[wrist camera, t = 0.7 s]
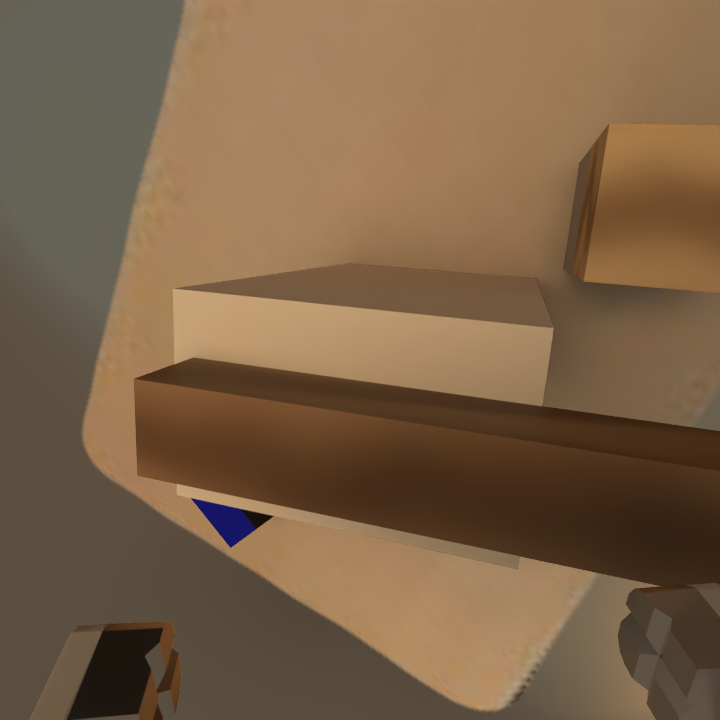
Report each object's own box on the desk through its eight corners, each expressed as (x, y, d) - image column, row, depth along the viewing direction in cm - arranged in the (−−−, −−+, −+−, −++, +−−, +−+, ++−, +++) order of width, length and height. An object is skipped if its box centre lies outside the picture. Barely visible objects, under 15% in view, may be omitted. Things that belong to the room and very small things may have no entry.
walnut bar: (193, 357, 24) (133, 378, 21) (822, 445, 18) (900, 499, 14) (194, 440, 25) (137, 475, 22) (792, 551, 19) (858, 627, 15)
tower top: (591, 147, 34) (609, 123, 27) (733, 150, 32) (792, 126, 25) (571, 273, 36) (583, 281, 29) (704, 284, 34) (752, 295, 27)
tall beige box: (348, 263, 48) (173, 288, 24) (536, 278, 44) (553, 328, 20) (342, 371, 51) (176, 495, 26) (519, 395, 46) (517, 568, 22)
